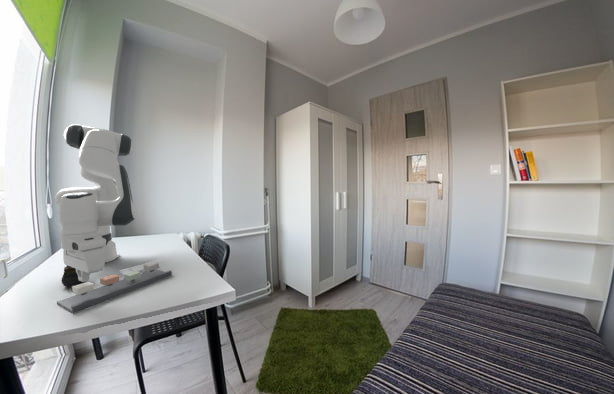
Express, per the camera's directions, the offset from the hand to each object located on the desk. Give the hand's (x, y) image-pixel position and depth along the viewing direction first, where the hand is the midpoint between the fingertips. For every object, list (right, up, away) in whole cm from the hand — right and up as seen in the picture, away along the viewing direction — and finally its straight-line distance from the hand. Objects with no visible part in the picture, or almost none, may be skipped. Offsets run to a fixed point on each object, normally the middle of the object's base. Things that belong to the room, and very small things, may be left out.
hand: (84, 280), depth 71 cm
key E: (+3, -4, +6) cm, 8 cm away
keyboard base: (+4, -7, +10) cm, 13 cm away
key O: (0, -5, 0) cm, 5 cm away
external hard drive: (-4, -7, +28) cm, 29 cm away
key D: (+6, -5, +13) cm, 15 cm away
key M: (+9, -4, +19) cm, 21 cm away
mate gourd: (-17, -7, +12) cm, 22 cm away
